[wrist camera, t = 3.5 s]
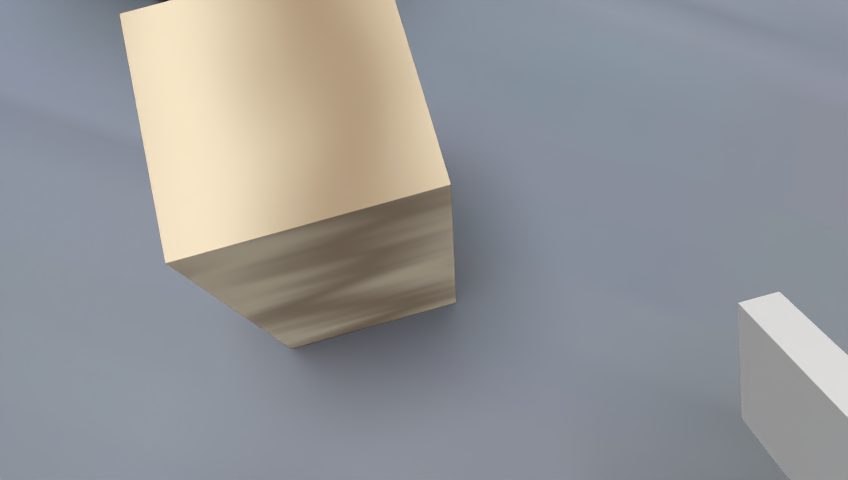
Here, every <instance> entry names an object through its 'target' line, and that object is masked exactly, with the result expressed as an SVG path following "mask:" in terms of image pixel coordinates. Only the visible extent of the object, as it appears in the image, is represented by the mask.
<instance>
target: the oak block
mask: <svg viewBox="0 0 848 480" xmlns="http://www.w3.org/2000/svg"><path fill="white" fill-rule="evenodd" d="M120 19H121V24H122V29H123V35H124V40H125V46H126V51H127V57H128V62H129V68H130V73H131V78H132V84H133V89H134V95H135V100H136V106H137V111H138V116H139V122H140V127H141V133H142V138H143V144H144V149H145V154H146V160H147V165H148V171H149V176H150V182H151V187H152V193H153V198H154V203H155V209H156V214H157V220H158V225H159V231H160V236H161V241H162V247H163V252H164V258H165V263H166V264H167V265H169V266H170V267H172V268H173V269H175V270H176V271H178V272H179V273H181V274H182V275H184V276H185V277H187V278H188V279H189V280H191V281H192V282H194V283H195V284H197V285H198V286H200V287H201V288H203V289H204V290H206V291H207V292H209V293H210V294H211V295H213V296H214V297H216V298H217V299H219V300H220V301H222V302H223V303H225V304H226V305H228V306H229V307H231V308H232V309H234V310H235V311H236V312H238V313H239V314H241V315H242V316H244V317H245V318H247V319H248V320H250V321H251V322H253V323H254V324H256V325H257V326H259V327H260V328H261V329H263V330H264V331H266V332H267V333H269V334H270V335H272V336H273V337H275V338H276V339H278V340H279V341H281V342H282V343H284V344H285V345H286V346H288V347H289V348H291V349H292V348H296V347H300V346H303V345H307V344H310V343H314V342H317V341H321V340H324V339H328V338H332V337H335V336H339V335H342V334H346V333H349V332H353V331H357V330H360V329H364V328H367V327H371V326H374V325H378V324H381V323H385V322H389V321H392V320H396V319H399V318H403V317H406V316H410V315H414V314H417V313H421V312H424V311H428V310H431V309H435V308H438V307H442V306H446V305H449V304H453V303H456V291H455V268H454V245H453V221H452V198H451V183H450V180H449V177H448V173H447V170H446V167H445V163H444V160H443V157H442V154H441V150H440V147H439V144H438V140H437V137H436V134H435V131H434V127H433V124H432V121H431V117H430V114H429V111H428V108H427V104H426V101H425V98H424V94H423V91H422V88H421V85H420V81H419V78H418V75H417V71H416V68H415V65H414V62H413V58H412V55H411V52H410V48H409V45H408V42H407V39H406V35H405V32H404V29H403V25H402V22H401V19H400V16H399V12H398V9H397V6H396V2H395V0H170V1H166V2H162V3H159V4H155V5H151V6H147V7H144V8H140V9H136V10H132V11H129V12H125V13H121V14H120Z"/></svg>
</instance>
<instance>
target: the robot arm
mask: <svg viewBox="0 0 848 480" xmlns="http://www.w3.org/2000/svg"><path fill="white" fill-rule="evenodd" d="M738 314H739V344H740V375H741V405H742V419H743V420H744V422H745V423H746V424H747V426H748V427H749V428H750V429H751V431H752V432H753V433H754V435H755V436H756V437H757V438H758V440H759V441H760V442H761V444H762V445H763V446H764V448H765V449H766V450H767V451H768V453H769V454H770V455H771V457H772V458H773V459H774V461H775V462H776V463H777V464H778V466H779V467H780V468H781V470H782V471H783V472H784V473H785V475H786V476H787V477H788V479H789V480H848V355H847V354H845V353H844V352H843V351H842V350H841V349H840V348H839V347H838V346H837V345H836V344H835V343H834V342H833V341H832V340H830V339H829V338H828V337H827V336H826V335H825V334H824V333H823V332H822V331H821V330H820V329H819V328H818V327H817V326H815V325H814V324H813V323H812V322H811V321H810V320H809V319H808V318H807V317H806V316H805V315H804V314H803V313H802V312H800V311H799V310H798V309H797V308H796V307H795V306H794V305H793V304H792V303H791V302H790V301H789V300H788V299H787V298H785V297H784V296H783V295H782V294H781V293H780V292H776V293H773V294H769V295H765V296H762V297H758V298H754V299H751V300H747V301H744V302H740V303H738Z"/></svg>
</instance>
